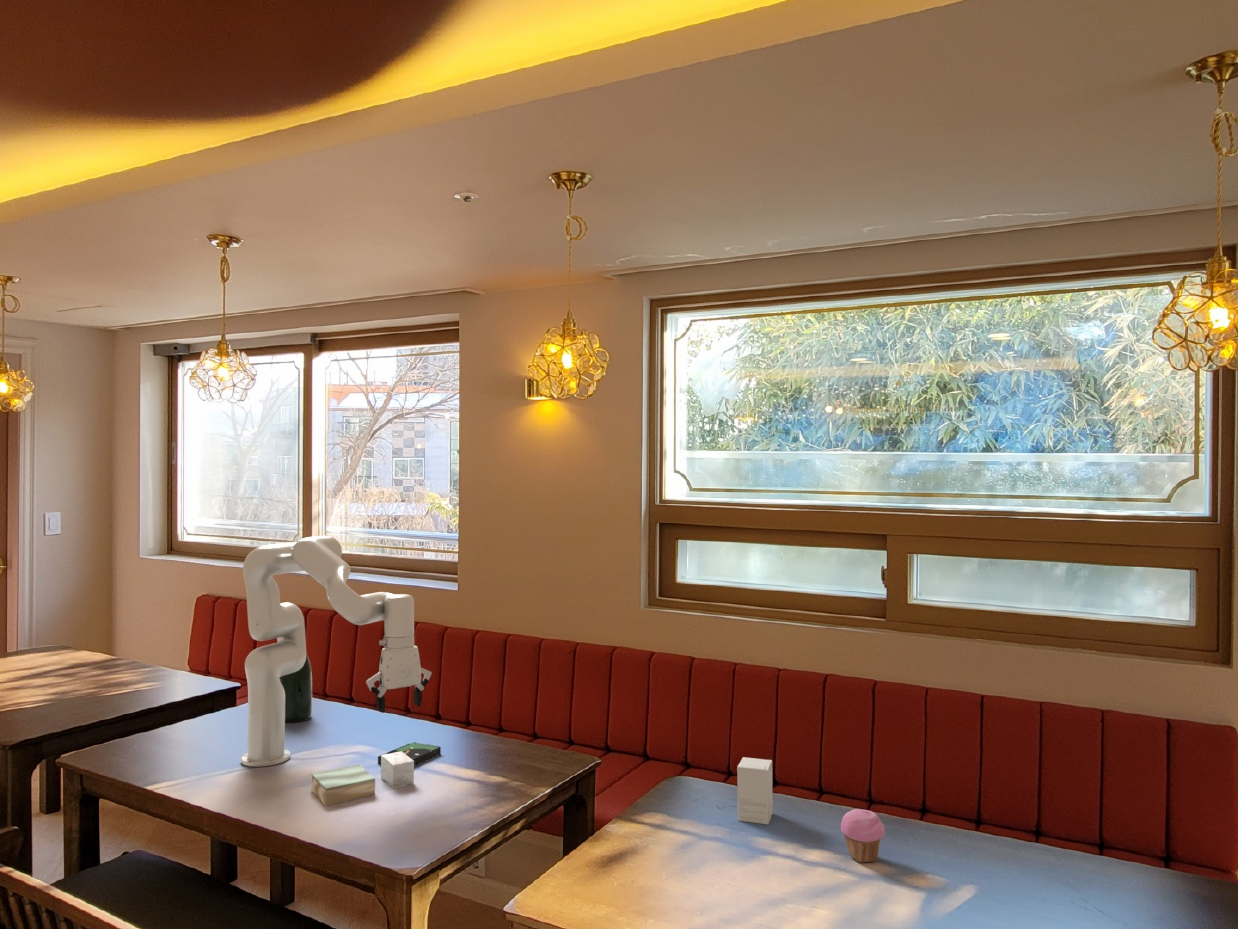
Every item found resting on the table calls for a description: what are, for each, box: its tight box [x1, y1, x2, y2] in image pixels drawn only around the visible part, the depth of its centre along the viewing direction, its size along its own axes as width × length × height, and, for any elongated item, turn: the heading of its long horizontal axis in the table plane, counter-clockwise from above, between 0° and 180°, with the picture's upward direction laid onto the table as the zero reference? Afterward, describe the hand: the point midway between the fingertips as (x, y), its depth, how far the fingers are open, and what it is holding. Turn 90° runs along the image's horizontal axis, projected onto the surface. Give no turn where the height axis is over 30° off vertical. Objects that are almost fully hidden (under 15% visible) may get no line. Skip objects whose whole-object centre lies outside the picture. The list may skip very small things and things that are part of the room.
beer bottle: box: [279, 652, 313, 724], centre depth 268 cm, size 10×10×33 cm
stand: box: [311, 764, 376, 806], centre depth 206 cm, size 12×12×4 cm
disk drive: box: [377, 741, 442, 767], centre depth 230 cm, size 10×3×15 cm
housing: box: [380, 751, 415, 789], centre depth 214 cm, size 9×6×6 cm, turn 35°
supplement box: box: [736, 756, 774, 825], centre depth 193 cm, size 7×7×13 cm
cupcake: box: [840, 808, 886, 863], centre depth 172 cm, size 9×9×10 cm
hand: (399, 708), depth 214 cm, fingers open, 9 cm apart
